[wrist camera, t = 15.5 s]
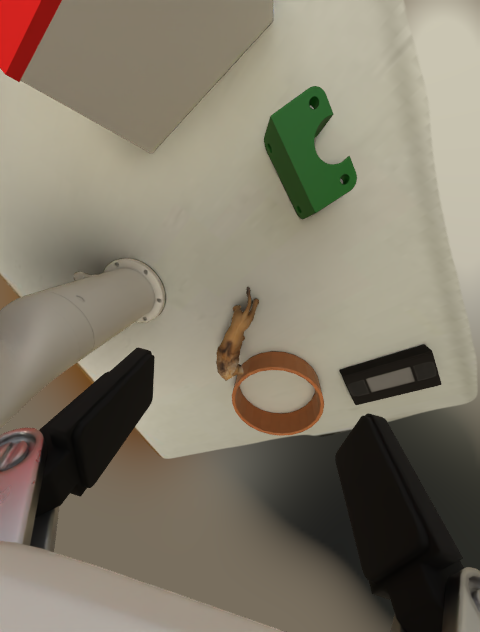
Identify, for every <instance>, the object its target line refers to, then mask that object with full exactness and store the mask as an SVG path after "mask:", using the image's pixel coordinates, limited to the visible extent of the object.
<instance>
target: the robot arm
mask: <svg viewBox="0 0 480 632" xmlns="http://www.w3.org/2000/svg"><path fill="white" fill-rule="evenodd" d="M74 280H75V281H74V282H71V283H67V284H64V285H60V286H57V287H53V288H50V289H46V290H43V291H39V292H36V293H32V294H29V295H26V296H23V297H20V298H18V299H16V300H14V301H12V302H11V303H9V304H8V305H6V306H5V307H4V308H2V309H1V310H0V429H1V428H2V427H3V426H4V425H5V424H6V423H7V422H8V421H9V420H10V419H11V418H12V417H13V416H14V415H16V414H17V413H18V412H19V411H20V410H21V408H23V407H24V406H25V405H26V404H27V403H28V402H29V401H30V400H31V399H32V398H33V397H34V396H35V395H36V394H37V393H38V392H39V391H41V390H42V389H43V388H44V387H45V386H47V385H48V384H49V383H50V382H51V381H53V380H54V379H55V378H56V377H58V376H59V375H60V374H62V373H63V372H64V371H66V370H67V369H68V368H70V367H71V366H73V365H74V364H75V363H77V362H78V361H80V360H81V359H83V358H84V357H85V356H87V355H88V354H90V353H91V352H93V351H94V350H95V349H97V348H98V347H100V346H101V345H103V344H104V343H106V342H107V341H108V340H110V339H111V338H113V337H114V336H116V335H117V334H119V333H120V332H121V331H123V330H124V329H126V328H127V327H129V326H130V325H132V324H133V323H134V322H137V323H144V322H149V321H151V320H153V319H154V318H156V317H157V316H158V315H159V314H160V313H161V312H162V310H163V308H164V305H165V291H164V287H163V285H162V283H161V280H160V279H159V277H158V276H157V274H156V273H155V272H154V271H153V270H152V269H151V268H150V267H148V266H147V265H146V264H144V263H142V262H141V261H138V260H135V259H130V258H124V259H118V260H115V261H113V262H111V263H110V264H108V265H107V267H106V268H105V269H104V271H103V274H99V275H96V274H94V275H89V274H86V273H82V272H76V273H75V274H74ZM153 378H154V356H153V355H152V353H151V351H148V350H145V349H141V348H136V349H135V350H134V351H133V352H131V353H130V354H129V355H128V356H127V357H126V358H125V359H124V360H122V361H121V362H120V363H119V364H118V365H117V366H116V367H115V368H113V369H112V370H111V371H110V372H107V373H105V374H103V375H102V376H101V377H100V378H99V379H97V380H96V381H95V382H94V383H93V384H92V385H91V386H90V387H88V388H87V389H86V390H85V391H84V392H83V393H81V394H80V395H79V396H78V397H77V398H76V399H74V400H73V401H72V402H71V403H70V404H69V405H68V406H66V407H65V408H64V409H63V410H62V411H61V412H59V413H58V414H57V415H56V416H55V417H54V418H53V419H51V420H50V421H49V422H48V423H47V424H46V425H45V426H43V427H42V428H41V429H40V430H37V429H35V428H20V429H15V430H12V431H9V432H6V433H3V434H1V435H0V632H285V631H282V630H279V629H276V628H273V627H271V626H268V625H265V624H262V623H259V622H256V621H254V620H251V619H248V618H245V617H242V616H239V615H237V614H234V613H231V612H228V611H225V610H222V609H219V608H216V607H214V606H211V605H208V604H205V603H202V602H199V601H197V600H194V599H191V598H188V597H185V596H182V595H180V594H177V593H174V592H171V591H168V590H165V589H162V588H159V587H156V586H154V585H150V584H148V583H145V582H142V581H139V580H136V579H133V578H130V577H127V576H125V575H121V574H119V573H115V572H113V571H110V570H107V569H104V568H101V567H98V566H95V565H92V564H89V563H86V562H83V561H80V560H76V559H73V558H70V557H67V556H64V555H60V554H58V553H54V546H55V538H56V529H57V521H58V512H59V506H60V505H61V504H62V503H63V501H64V500H65V499H66V498H67V496H68V495H69V494H70V493H71V494H74V495H77V496H81V495H82V494H83V493H84V491H85V490H86V488H91V487H92V486H93V485H94V484H95V483H96V482H97V480H98V478H99V477H100V476H101V474H102V473H103V471H104V470H105V469H106V467H107V466H108V464H109V463H110V461H111V460H112V459H113V457H114V456H115V454H116V453H117V452H118V450H119V449H120V447H121V446H122V444H123V443H124V441H125V440H126V438H127V437H128V436H129V434H130V433H131V431H132V430H133V429H134V427H135V426H136V424H137V423H138V421H139V420H140V419H141V417H142V416H143V414H144V413H145V411H146V410H147V409H148V407H149V406H150V404H151V402H152V398H153ZM335 460H336V465H337V469H338V473H339V477H340V481H341V485H342V489H343V493H344V497H345V501H346V505H347V509H348V513H349V518H350V521H351V526H352V529H353V534H354V537H355V542H356V546H357V550H358V554H359V558H360V562H361V566H362V570H363V573H364V575H365V577H366V578H367V579H368V580H369V583H370V586H371V591H372V594H374V595H377V596H380V597H383V598H386V599H391V602H392V605H393V609H394V612H395V615H394V618H393V623H392V627H391V631H390V632H480V571H479V570H477V569H475V568H470V567H467V568H465V569H464V567H463V566H462V564H461V562H460V560H461V559H462V558H463V557H462V556H461V554H460V552H459V550H458V548H457V546H456V545H455V543H454V541H453V539H452V538H451V536H450V534H449V532H448V530H447V529H446V527H445V525H444V523H443V521H442V520H441V518H440V516H439V514H438V513H437V511H436V509H435V507H434V505H433V503H432V502H431V500H430V498H429V496H428V494H427V493H426V491H425V489H424V487H423V486H422V484H421V482H420V480H419V479H418V476H417V475H416V473H415V471H414V469H413V468H412V466H411V464H410V462H409V460H408V459H407V457H406V455H405V454H404V452H403V450H402V448H401V446H400V444H399V442H398V441H397V439H396V437H395V436H394V433H393V432H392V430H391V428H390V426H389V424H388V423H387V421H386V420H385V419H384V418H383V417H379V416H376V415H372V414H366V415H365V416H362V417H361V418H360V419H359V421H358V422H357V424H356V425H355V427H354V428H353V430H352V431H351V432H350V434H349V435H348V437H347V438H346V440H345V441H344V443H343V444H342V445H341V447H340V448H339V450H338V451H337V453H336V459H335Z"/></svg>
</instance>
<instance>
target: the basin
mask: <svg viewBox="0 0 480 632" xmlns="http://www.w3.org/2000/svg"><path fill="white" fill-rule="evenodd" d="M241 367H242V368H243V374H242V375H237V378H236V382H235V386H234V390H233V394H232V402H233V406H234V409H235V411H236V413H237V414H238V415H239V417H240V418H241V419H242V420H243V421H244V422H245V423H246V424H248V425H249V426H250V427H252V428H254V429H256V430H258V431H261V432H264V433H268V434H272V435H293V434H296V433H300V432H303V431H305V430H307V429H309V428H311V427H312V426H313V425H314V424H315V423H316V422H317V421H318V420H319V418H320V417H321V415H322V413H323V408H324V400H323V396H322V392H321V388H320V384H319V381H318V377H317V375H316V373H315V371H314V370H313V368H312V367H311V366H310V365H309V364H308V363H307V362H306V361H304V360H303V359H301V358H299V357H297V356H295V355H292V354H289V353H285V352H273V351H271V352H265V353H260V354H258V355H256V356H253V357H251V358H250V359H248V360H247V361H246V362H245V363H244V364H243V365H242V366H241ZM266 370H284V371H287V372H291V373H294V374H297V375H299V376H300V377H302V378H304V379H306V380H307V381H308V382H309V383H310V384H311V385H313V386H314V388H315V394H314V396H313V398H312V400H311V401H310V402H309V403H308V404H307V405H306V406H304V407H303V408H301V409H299V410H297V411H294V412H290V413H282V414H279V413H270V412H266V411H263V410H261V409H259V408H257V407H255V406H253V405H252V404H251V403H250V402H248V401H247V400H246V398H245V397H244V396H243V394H242V392H241V389H240V387H239V385H240V384H241V382H242V381H243V380H244V379H246V378H247V377H248V376H250V375H252V374H255V373H257V372H260V371H266Z"/></svg>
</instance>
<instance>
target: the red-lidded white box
mask: <svg viewBox="0 0 480 632" xmlns="http://www.w3.org/2000/svg"><path fill="white" fill-rule="evenodd" d="M272 21H273V0H0V69H1V70H2V71H3V72H4V73H5V74H6V75H7V76H9V77H11V78H13V79H15V80H16V81H18V82H20V80H21V81H22V82H24V83H26V84H28V85H30V86H31V87H33V88H35V89H37V90H38V91H40V92H42V93H44V94H46V95H47V96H49V97H51V98H53V99H55V100H56V101H58V102H60V103H62V104H64V105H65V106H67V107H69V108H71V109H72V110H74V111H76V112H78V113H80V114H81V115H83V116H85V117H87V118H89V119H90V120H92V121H94V122H96V123H98V124H99V125H101V126H103V127H105V128H106V129H108V130H110V131H112V132H114V133H115V134H117V135H119V136H121V137H123V138H124V139H126V140H128V141H130V142H132V143H133V144H135V145H137V146H139V147H140V148H142V149H144V150H146V151H148V152H149V153H151V154H152V153H153V152H154V151H155V150H156V148H157V147H158V146H159V145H160V144H161V143H162V142H163V141H164V140H165V139H166V137H167V136H168V135H169V134H170V133H171V132H172V131H173V130H174V129H175V128H176V127H177V125H178V124H179V123H180V122H181V121H182V120H183V119H184V118H185V117H186V116H187V114H188V113H189V112H190V111H191V110H192V109H193V108H194V107H195V106H196V105H197V104H198V102H199V101H200V100H201V99H202V98H203V97H204V96H205V95H206V94H207V93H208V91H209V90H210V89H211V88H212V87H213V86H214V85H215V84H216V83H217V82H218V81H219V79H220V78H221V77H222V76H223V75H224V74H225V73H226V72H227V71H228V70H229V68H230V67H231V66H232V65H233V64H234V63H235V62H236V61H237V60H238V59H239V58H240V56H241V55H242V54H243V53H244V52H245V51H246V50H247V49H248V48H249V47H250V45H251V44H252V43H253V42H254V41H255V40H256V39H257V38H258V37H259V36H260V35H261V33H262V32H263V31H264V30H265V29H266V28H267V27H268V26H269V25H270V24H271V22H272Z"/></svg>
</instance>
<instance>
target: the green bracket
mask: <svg viewBox="0 0 480 632" xmlns="http://www.w3.org/2000/svg"><path fill="white" fill-rule="evenodd" d="M309 105H311V106H312V107H313V108H314V109H311V108H310V106H309ZM332 115H333V112H332V109H331V107H330V104H329V101H328V99H327V96H326V94H325V92H324V90H323V89H321V88H320V87H317V86H313V87H310V88H309V89H307V90H306V91H304V92H303V93H302V94H300V95H299V96H297V97H296V98H295V99H293V100H292V101H291V102H289V103H288V104H286V105H285V106H284V107H282V108H281V109H280V110H278V111H277V112H275V113H274V114H273V115H271V116H270V120H269V123H268V127H267V130H266V133H265V137H264V143H265V147H266V150H267V153H268V155H269V157H270V159H271V161H272V163H273V165H274V167H275V169H276V171H277V173H278V175H279V177H280V180H281V182H282V184H283V186H284V188H285V190H286V192H287V194H288V196H289V198H290V200H291V202H292V204H293V206H294V208H295V210H296V212H297V214H298V216H299V217H300V218H301V219H305V218H307V217H309V216H311V215H313V214H315V213H317V212H318V211H320V210H321V209H323V208H324V207H326V206H327V205H329V204H330V203H332V202H334V201H335V200H337V199H338V198H340V197H341V196H343V195H344V194H346V193H347V192H349V191H350V190H352V189H353V187H354V186H355V184H356V180H357V175H356V172H355V169H354V167H353V164H352V161H351V159H350V156H348V157H347V158H346V159H345V160H344V161H342V162H341V163H339V164H334V165H332V164H327V163H325V162H323V161H322V160H321V159H320V158H319V157H318V155H317V153H316V151H315V146H314V138H315V137H317V136H318V134H319V133H320V132H321V130H322V129H323V128H324V126H325V125H326V123H327V122H328V121H329V119H330V118H331V117H332ZM340 178H341V179H342V180H343V184H342V183H341V182H340Z"/></svg>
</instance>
